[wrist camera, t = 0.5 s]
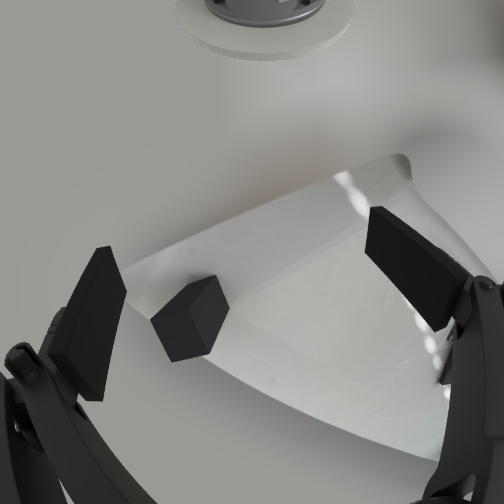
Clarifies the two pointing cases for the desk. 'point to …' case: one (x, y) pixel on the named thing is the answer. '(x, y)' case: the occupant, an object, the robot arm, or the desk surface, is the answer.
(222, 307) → the black rectangular block
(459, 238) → the desk surface
